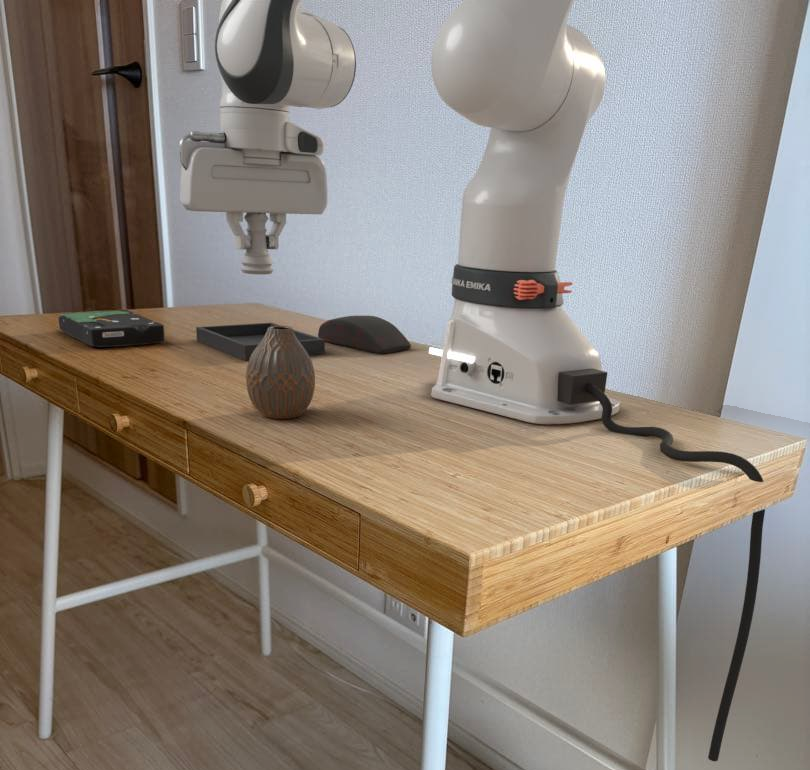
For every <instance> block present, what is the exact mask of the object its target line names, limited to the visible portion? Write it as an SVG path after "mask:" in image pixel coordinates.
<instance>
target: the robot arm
mask: <svg viewBox="0 0 810 770" xmlns="http://www.w3.org/2000/svg"><path fill="white" fill-rule="evenodd" d="M301 1H302V0H222V1H221V5H220V10H219V16H218V24H217V27H216V32H215V39H214V53H215V61H216V64H217V68H218V72H219V76H220V80H221V97H220V100H219V130H220V132H214V131H213V132H211V131H210V132H202V131H198V130H192V131H190V132H189V133H188V134H186V135H184V136H183V137H182V138H181V140H180V141H179V145H178V150H179V161H180V164H181V168H180V182H179V200H180V203H181V204H182V206H183V207H184V208H185V210H187V211H189V212H190V211H191V212H211V213H225V217H226V219H225V221H226V223H227V224H228V226H229V228H230V230H231V233H233V235H234V246H235V249H237V250H241V251H243V250H246V249H250V248H251V244H250V242H251V236H249V235H248V234H246V233H245V231H244V230H243V227H242V225H241V224H240V223H242V222H244V213H245V214H247V213H266V214H269V222H272V224H271V226H270V229H269V231H268V232H267V234H266V244H267V250H278V249H279V237H280V235H281V233H282V232H283V229H284V228H285V226H286V224H287V215H289V214H290V215H323V213H324V212H325V211H326V209H327V207H328V198H329V197H328V193H329V192H328V175H327V168H326V164H325V162H324V161H323V160H322V158H320V157H319V156H321V155H323V153H324V151H325V143H324V139H323V138H322V137H320V136H318V135H317V134H314V133H312V132H310V131H309V130H306V129H304V128H302V127H301V126H298V125H297V124H295V123H293V122H291V110H290V108H291V107H295V108H309V109H314V110H315V109H316V110H317V109H318V110H320V109H328V108H334V107H336V106H338V105H340V104H341V103H342V102H343V101H344V100H345V99H346V97H347V96H348V95H349V93H350V92H351V90H352V87H353V84H354V82H355V77H356V72H357V56H356V51H355V47H354V44H353V42H352V39H351V38H350V36H349V34H348V33H347V32H346V30H344V29H343V28H342V27H341V26H339V25H337V24H336V23H334V22H332V21H330V20H328V19H325V18H323V17H320V16H318V15H315V14H313V13H311V12H308V11H306V10H305V9H303V8H301V7H300V3H301ZM574 2H575V0H463V1H462V2H461V3H460V4H459V5H458V7H456V8H455V9H454V10H452V11H451V13H450V14H449V15H447V17H446V18H445V20H444V21H443V23H442V24H441V26H440V28H439V30H438V32H437V34H436V36H435V39H434V43H433V46H432V50H431V51H432V52H431V59H430V60H431V61H430V63H431V66H430V67H431V68H430V69H431V76H432V81H433V84H434V87H435V89H436V91H437V93H438V96H439V97H440V98H441V100H442V101H443V102H444V103H445V105H447V106H448V107H449V108H450V109H452V110H453V111H454V112H456V113H457V114H458V115H460V116H462V117H463V118H464V119H466V120H468V121H469V122H470V123H473V124H475V125H478V126H482V127H486V128H490V131H489V134H488V139H487V143H486V147H485V150H484V153H483V156H482V159H481V161H480V164H479V166H478V168H477V169H476V172H475V173H474V175H473V177H472V178H470V180H469V181H468V183H467V184H466V186H465V188H464V190H463V195H462V200H461V214H460V225H459V226H460V228H459V241H458V256H457V263H456V264H455V265H454V266H453V273H452V276H451V296H452V298H454V301H453V307H452V311H451V314H450V317H449V320H448V321H447V323H446V328H445V334H444V339H443V346H442V349H441V348H435V347H429V349H428V354H430V355H435V356H438V357H441V359H440V365H439V371H438V376H437V378H436V381H435V384H434V385H433V386H432V388H431V392H430V397H431V398H433V399H436V400H441V401H445V402H448V403H451V404H456V405H460V406H463V407H467V408H472V409H475V410H479V411H483V412H487V413H491V414H495V415H499V416H503V417H506V418H511V419H515V420H518V421H523V422H527V423H530V424H534V425H535V424H537V425H564V424H565V425H566V424H576V423H583V422H589V421H595V420H601V423H602V424H603V426H604V427H605V429H607V430H608V431H609V432H611V433H615V434H621V435H627V436H637V437H655V438H658V439H661V442H660V444H659V450H660V452H661V453H662V454H663V455H664V456H665V457H667V458H669V459H671V460H674V461H679V462H687V463H688V462H689V463H721V464H728V465H730V466H734V467H736V468H738V469H739V470H740V471H742V472H743V473H744V474H745V476H747V478H748V479H749V480H751V481H753V482H757V483H763V482H764V478H763V477H762V474H761V473H760V471H759V470H758V469H757V468H756V466H755V465H753V463H751V462H750V460H748V459H746V458H744V457H742V456H740V455H738V454H735V453H731V452H727V451H717V450H716V451H714V450H697V451H695V450H694V451H693V450H683V449H677V448H674V447H672V445H673V442H674V436H673V434H672V433H671V432H670V431H669V430H666V429H665V428H662V427H659V426H658V427H657V426H624V425H620V424H619V423H616V422H615V421H614V420H613V419H612V416H614V415H617V413H619V412H620V405H621V403H620V401H619V400H616V399H614V398H611V397H609V396H608V395H607V394H606V393H605V392H606V387H607V381H608V371H604V370H603V368H602V367H603V366H602V360H601V356H600V353H599V352H598V351H597V349H596V348H595V347H594V346H593V344H591V342H590V341H589V339H588V338H587V337H586V336H585V335H584V334H583V332H582V331H581V330H580V329H579V327H578V326H577V325H576V323H575V322H574V321H573V320H572V318H571V317H570V316H569V315H568V314H567V312H566V311H565V310H564V308H563V305H564V304H565V303H564V298H563V294H571V293H572V290H569V289H565V288H566V287H570V286H573V282H572V281H565V282H564V281H563V282H562V281H561V279H560V276H559V272H558V270H556V265H557V257H558V248H559V242H560V241H559V240H560V232H561V224H562V217H563V207H564V204H565V203H564V202H565V197H566V192H567V188H568V185H569V181H570V178H571V173H572V171H573V168H574V164H575V161H576V158H577V155H578V152H579V148H580V145H581V142H582V139H583V136H584V134H585V130H586V127H587V125H588V123H589V122H590V119H591V118H592V117H593V116H594V114H595V113H596V111H597V110H598V108H599V107H600V105H601V102H602V100H603V97H604V94H605V89H606V81H607V77H606V68H605V64H604V61H603V59H602V57H601V55H600V53H599V52H598V50H597V49H596V47H595V46H594V44H592V42H591V41H590V40H589V38H588V37H587V36H586V35H585V34H584V33H583V32H582V31H581V30H579V29H578V28H577V27H575V26H573V25H570V24H567V23H568V19H569V16H570V12H571V10H572V7H573V5H574ZM188 139H189V140H188ZM765 514H766V508H764V509H760V510H757V511H755V512H752V518H751V525H750V534H749V535H750V537H749V552H748V553H749V554H748V566H747V575H746V576H747V577H746V584H745V585H746V586H745V592H744V599H743V604H742V609H741V617H740V621H739V627H738V632H737V636H736V641H735V644H734V648H733V653H732V656H731V660H730V661H731V662H730V665H729V668H728V673H727V677H726V681H725V684H724V688H723V690H722V691H723V692H722V696H721V698H720V704H719V707H718V712H717V716H716V719H715V724H714V726H713V727H714V728H713V733H712V736H711V742H710V746H709V751H708V756H707V759H708V760H709V761H711V762H718V761H719V758H720V752H721V747H722V744H723V743H722V742H723V739H724V738H723V737H724V734H725V730H726V725H727V721H728V718H729V714H730V711H731V710H730V709H731V705H732V702H733V698H734V695H735V691H736V687H737V683H738V679H739V676H740V673H741V668H742V665H743V661H744V657H745V653H746V648H747V645H748V642H749V641H748V640H749V636H750V631H751V627H752V621H753V617H754V612H755V606H756V599H757V594H758V593H757V592H758V586H759V577H760V569H761V568H760V567H761V559H762V558H761V557H762V545H763V544H762V542H763V528H764V521H765Z"/></svg>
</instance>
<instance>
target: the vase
mask: <svg viewBox="0 0 810 770" xmlns="http://www.w3.org/2000/svg"><path fill="white" fill-rule="evenodd" d="M293 330H294V329H293V327H291V326H289V325H281V326H270V327H268V329H267V332H266V334H265V336H264V338H263V339H262V341H261V342H260V343H259V344H258V346H257V347H256V349H255V350H254V351H253V353H252V355H251V357H250V359H249V361H248V363H247V366H246V373H245V383H246V384H245V385H246V391H247V394H248V397H249V400H250V402H251V404H252V406H253V407H254V409H256V410H257V412H258V413H260V414H261V416H263V417H265V418H269V419H276V420H284V419H285V420H286V419H295V418H297V417H300V416H301V415H302V414H303V413H304V412H305V411H306V410H307V409H308V408H309V406H310V405H311V402H312V401H313V397H314V394H315V389H316V373H315V372H316V371H315V367H314V364H313V360H312V358H311V355H309V354H308V353H307V351H306V350H305V349H304V347H303V346H302V345H301V343H300V342H299V341H298V339H297V337H296V336H295V333H294V331H293Z"/></svg>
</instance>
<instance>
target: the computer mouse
mask: <svg viewBox="0 0 810 770" xmlns="http://www.w3.org/2000/svg"><path fill="white" fill-rule="evenodd" d="M317 337H318V338H321V339H324V340H325V342H326V343H329V344H333V345H338V346H343V347H347V348H350V349H356V350H359V351H360V350H361V351H366V352H370V353H375V354H380V355H385V354H390V353H396V352H402V351H409V350H410V349H411V348H412V344H411V343H410V341H409V339H407V338H406V336H405V335H404V334H403V333H402V331H400V329H398V327H396V326H395V325H394V324H393V323H391V321H388V320H386V319H384V318H381V317H379V316H374V315H348V316H341V317H337V318H332V319H329V320H326V321H325V322H323V323H321V324H320V326H319V328H318V333H317Z"/></svg>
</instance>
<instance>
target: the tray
mask: <svg viewBox="0 0 810 770" xmlns="http://www.w3.org/2000/svg"><path fill="white" fill-rule="evenodd" d="M270 326H282V325H281V324H277V323H274V322H256V323H240V324H226V325H225V324H224V325H208V326H196V328H195V330H196V341H197V342H198V343H200V344H203V345H205V346H208V347H211V348H213V349H215V350H217V351H220V352H223V353H226V354H228V355H230V356H232V357H235V358H237V359H240V360H243V361H245V362H247V361H248V362H249V359H250V357H251V355H252V353H253V351H254V350H255V349H256V347H257V346H258V344H259V343H260V342H261V341H262V339H263V338H264V336H265V334H266V332H267V329H268V327H270ZM293 331H294V333H295V336H296V337H297V339H298V341H299V342H300V343H301V345H302V346H303V347H304V349H305V350H306V351H307V353H308V354H309V356H314V355H315V356H316V355H325V354H326V353H325V352H326V349H325V348H326V347H325V346H326V343H325V342H326V341H325V340H324V339H321V338H319V337H318V336H315V335H312V334H310V333H309V334H308V333H306V332H303V331H299V330H296V329H293Z"/></svg>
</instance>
